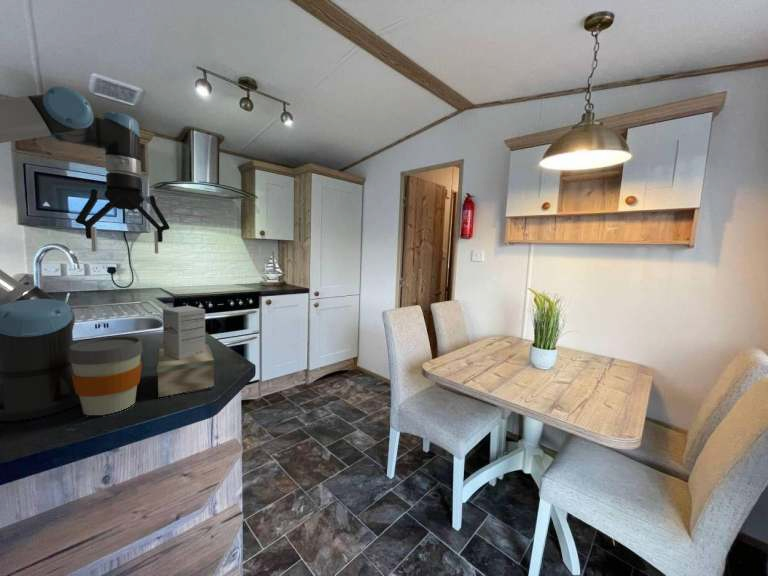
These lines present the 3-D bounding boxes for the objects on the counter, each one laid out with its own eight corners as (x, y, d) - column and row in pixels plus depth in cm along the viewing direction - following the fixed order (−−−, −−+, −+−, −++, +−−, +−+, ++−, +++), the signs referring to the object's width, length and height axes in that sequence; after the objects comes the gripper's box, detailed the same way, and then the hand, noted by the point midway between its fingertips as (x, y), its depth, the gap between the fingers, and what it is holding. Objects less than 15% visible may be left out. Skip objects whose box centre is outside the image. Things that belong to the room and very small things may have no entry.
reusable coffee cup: (136, 390, 82) (134, 333, 80) (151, 407, 74) (149, 343, 72) (67, 407, 72) (63, 342, 70) (77, 428, 64) (72, 355, 62)
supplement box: (162, 355, 85) (161, 308, 84) (190, 348, 92) (190, 305, 91) (178, 360, 82) (177, 312, 81) (206, 353, 88) (205, 308, 87)
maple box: (157, 399, 78) (156, 367, 77) (159, 376, 91) (158, 349, 90) (214, 389, 84) (214, 359, 84) (208, 369, 98) (208, 343, 97)
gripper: (56, 163, 78) (61, 250, 80) (178, 180, 92) (179, 254, 94) (64, 169, 84) (69, 250, 86) (177, 184, 98) (179, 253, 100)
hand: (127, 252), depth 90 cm, fingers open, 13 cm apart
